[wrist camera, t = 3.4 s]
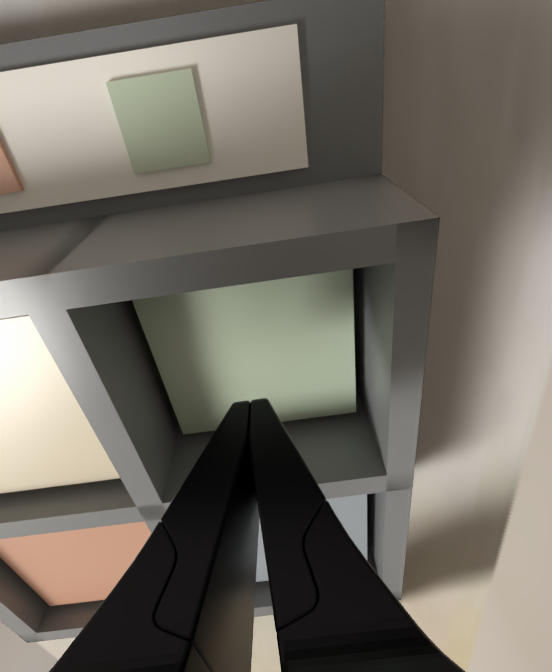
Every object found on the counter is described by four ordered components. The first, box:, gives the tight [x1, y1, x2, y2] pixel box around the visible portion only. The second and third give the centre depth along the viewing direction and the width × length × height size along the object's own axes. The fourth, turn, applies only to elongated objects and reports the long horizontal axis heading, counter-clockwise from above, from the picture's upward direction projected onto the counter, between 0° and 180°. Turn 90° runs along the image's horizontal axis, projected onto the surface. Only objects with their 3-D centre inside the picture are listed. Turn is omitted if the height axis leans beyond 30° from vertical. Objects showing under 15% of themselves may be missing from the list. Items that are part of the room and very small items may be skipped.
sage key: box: [132, 269, 356, 435], centre depth 12 cm, size 6×6×2 cm
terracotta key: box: [0, 521, 151, 606], centre depth 16 cm, size 6×6×2 cm
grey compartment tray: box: [0, 0, 440, 643], centre depth 13 cm, size 20×16×6 cm
